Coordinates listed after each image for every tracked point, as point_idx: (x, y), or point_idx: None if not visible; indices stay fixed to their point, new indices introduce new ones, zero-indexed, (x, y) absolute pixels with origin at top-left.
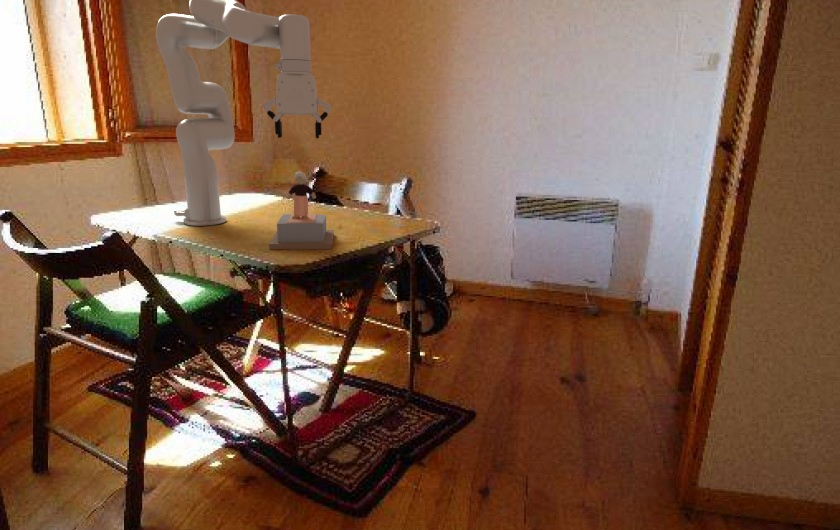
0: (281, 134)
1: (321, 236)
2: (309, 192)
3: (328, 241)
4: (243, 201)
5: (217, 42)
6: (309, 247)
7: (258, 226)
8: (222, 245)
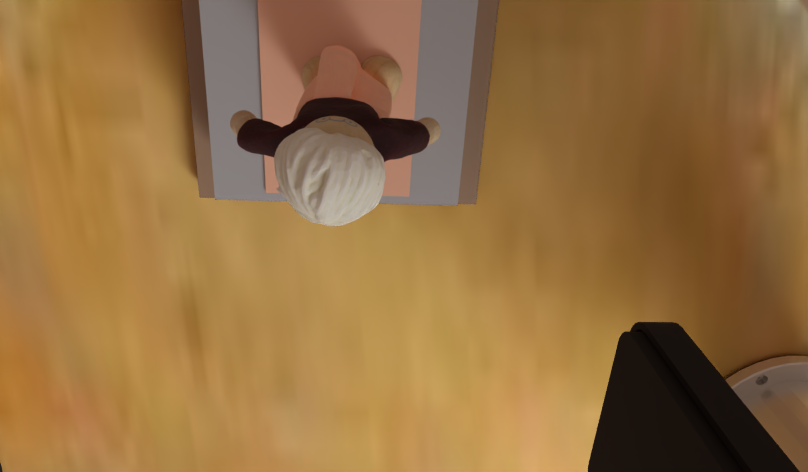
0: (615, 447)
1: None
2: (272, 124)
3: None
4: None
5: None
6: None
7: (560, 351)
8: (722, 12)
